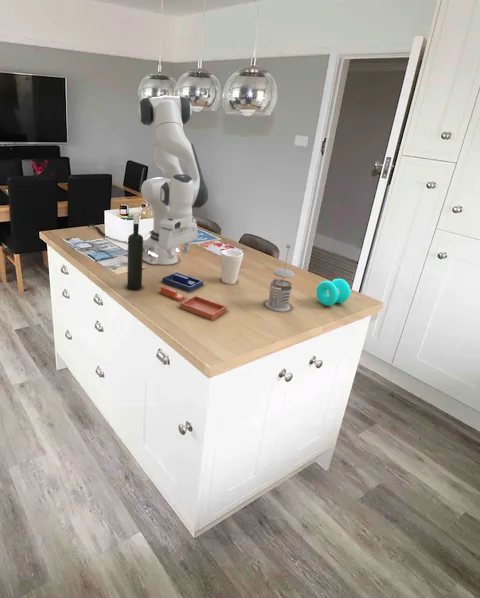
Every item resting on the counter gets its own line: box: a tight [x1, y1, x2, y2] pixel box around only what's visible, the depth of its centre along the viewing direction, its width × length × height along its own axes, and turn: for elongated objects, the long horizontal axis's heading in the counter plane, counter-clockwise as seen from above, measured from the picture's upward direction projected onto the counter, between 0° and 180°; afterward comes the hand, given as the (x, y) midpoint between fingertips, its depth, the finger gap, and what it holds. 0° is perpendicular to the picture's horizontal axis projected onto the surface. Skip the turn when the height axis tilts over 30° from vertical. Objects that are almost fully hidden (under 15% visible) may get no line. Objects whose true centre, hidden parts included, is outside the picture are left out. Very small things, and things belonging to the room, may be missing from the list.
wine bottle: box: [126, 213, 144, 291], centre depth 163 cm, size 6×6×30 cm
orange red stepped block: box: [160, 285, 185, 302], centre depth 164 cm, size 10×3×3 cm, turn 53°
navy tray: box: [162, 272, 204, 292], centre depth 176 cm, size 14×10×2 cm
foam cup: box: [220, 249, 244, 285], centre depth 181 cm, size 10×9×13 cm
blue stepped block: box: [173, 274, 195, 287], centre depth 176 cm, size 10×3×3 cm, turn 54°
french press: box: [265, 243, 296, 312], centre depth 157 cm, size 10×12×25 cm
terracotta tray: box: [179, 295, 228, 321], centre depth 155 cm, size 14×10×2 cm
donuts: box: [315, 278, 351, 307], centre depth 167 cm, size 10×10×10 cm
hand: (177, 255), depth 162 cm, fingers open, 8 cm apart
